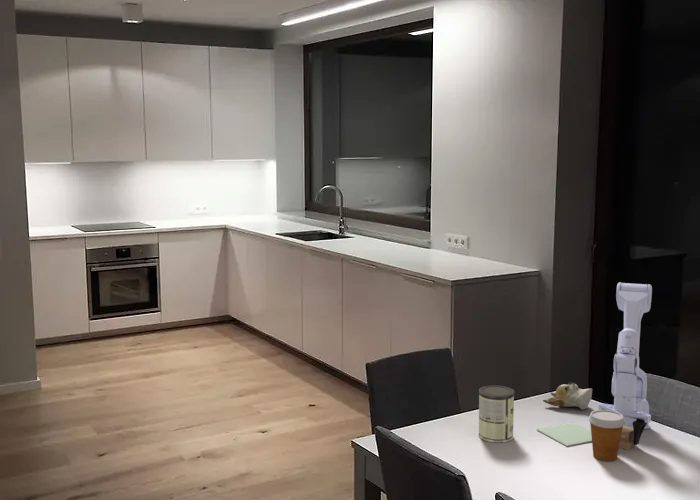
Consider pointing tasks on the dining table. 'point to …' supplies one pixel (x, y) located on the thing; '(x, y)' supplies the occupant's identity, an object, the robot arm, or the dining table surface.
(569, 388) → the ceramic sculpture
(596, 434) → the disposable coffee cup
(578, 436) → the mat
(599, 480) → the dining table surface
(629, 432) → the letter cube
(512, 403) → the coffee can
